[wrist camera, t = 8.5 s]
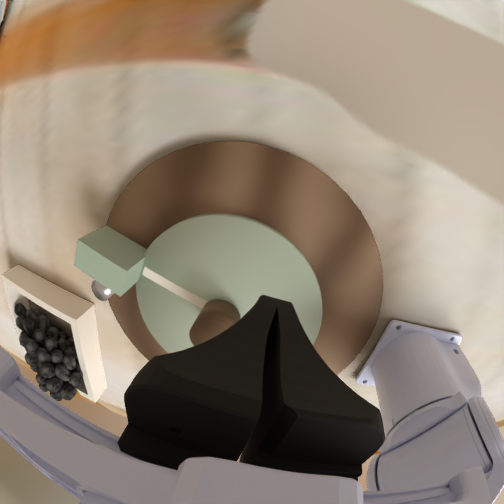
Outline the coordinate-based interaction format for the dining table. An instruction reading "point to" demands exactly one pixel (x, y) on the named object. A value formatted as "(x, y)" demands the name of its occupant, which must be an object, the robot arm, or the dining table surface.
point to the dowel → (101, 291)
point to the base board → (266, 211)
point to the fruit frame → (70, 310)
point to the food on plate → (3, 9)
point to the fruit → (49, 354)
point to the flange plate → (203, 272)
